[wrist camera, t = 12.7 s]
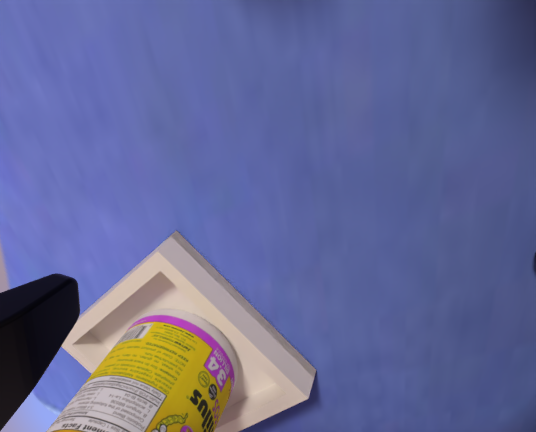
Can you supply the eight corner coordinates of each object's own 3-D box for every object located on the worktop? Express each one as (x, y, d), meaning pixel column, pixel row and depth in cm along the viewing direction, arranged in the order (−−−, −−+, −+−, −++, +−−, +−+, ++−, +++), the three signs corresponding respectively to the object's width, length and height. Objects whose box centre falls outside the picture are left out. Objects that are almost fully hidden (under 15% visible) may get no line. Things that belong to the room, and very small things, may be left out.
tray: (316, 370, 27) (308, 398, 25) (197, 430, 32) (184, 456, 31) (176, 230, 25) (157, 251, 23) (76, 318, 30) (55, 340, 29)
